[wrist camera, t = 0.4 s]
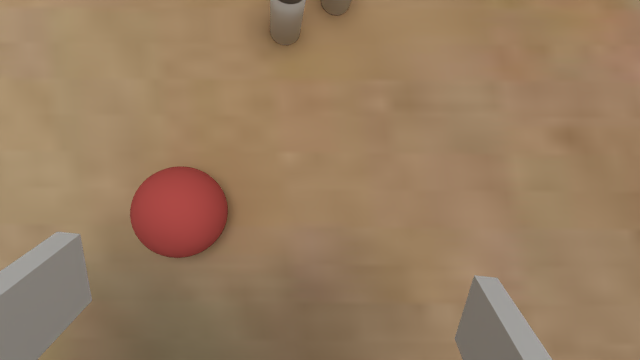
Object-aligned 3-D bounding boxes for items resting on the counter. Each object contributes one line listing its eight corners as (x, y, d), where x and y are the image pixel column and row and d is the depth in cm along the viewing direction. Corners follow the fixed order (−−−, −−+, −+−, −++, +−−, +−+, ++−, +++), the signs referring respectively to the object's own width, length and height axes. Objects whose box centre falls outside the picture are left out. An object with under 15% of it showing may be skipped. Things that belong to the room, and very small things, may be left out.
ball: (209, 264, 27) (191, 281, 21) (133, 230, 26) (93, 237, 20) (245, 192, 27) (239, 188, 22) (172, 157, 27) (145, 144, 21)
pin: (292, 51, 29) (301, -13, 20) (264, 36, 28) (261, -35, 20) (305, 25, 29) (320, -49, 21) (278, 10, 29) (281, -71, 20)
